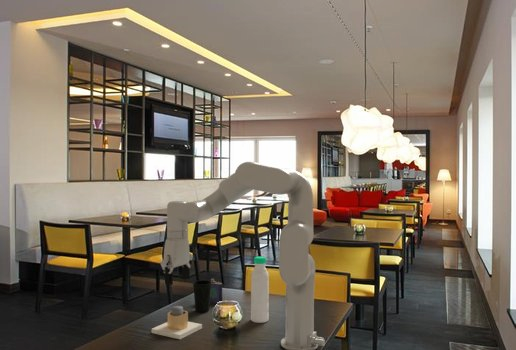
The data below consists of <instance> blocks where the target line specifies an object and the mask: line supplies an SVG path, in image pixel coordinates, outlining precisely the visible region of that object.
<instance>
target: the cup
mask: <svg viewBox="0 0 516 350" xmlns="http://www.w3.org/2000/svg"><path fill="white" fill-rule="evenodd" d="M192 287H193V298H194V309H195V312H196V313H198V314H204V313H207V312H209V310H210V304H211V303H210V293H211V280H207V279H206V280H205V279H204V280H201V279H200V280H195V281H193V282H192Z"/></svg>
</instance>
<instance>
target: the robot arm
mask: <svg viewBox="0 0 516 350" xmlns="http://www.w3.org/2000/svg"><path fill="white" fill-rule="evenodd" d="M252 191H259V192H264V193H268V194H272V195H280V196H282V195H287V197H288V204H287V224H286V225H285V226H283V228H282V229H281V231H280V234H279V241H278V242H279V243H278V245H279V247H278V254H279V256H278V271H279V276H280V278H281V280H282V281H283V282H284V283H285V284H286V285H285V329H284V330H285V337H283V338H282V339H280V346H281V347H282V348H284V349H285V350H316V349H318V347H319V346H322V347H325V344H326V340H325V337H322V336H318V335H317V331H314V328H315V323H314V321H315V320H314V319H315V309H314V308H315V307H314V306H315V281H316V262H315V260H314V258H313V256H312V255H311V254H310V253H309V252H310V251H309V248H310V244H312V242H313V240H314V236H315V235H314V194H313V188H312V186H311V183H310V182H309V180H308V179H307V177H306V176H304V175H303V174H302V173H300V172H299V171H297V170H295V169H292V168H277V167H273V166H267V165H263V164H261V163H259V162H257V161H256V162H255V161H246V162H242V163H240V164H239V165H238V166H237V168H236V170H235V172H234V173H232V174H230V175H229V176H227V177H226V178H224V179H222V180H221V181H220V182H219V185H218V188H217V189H216V190H215V191H214V192H212V193H210V194H209V195H208V196H206V197H205V198H203V199H201V200H194V201H189V202H188V201H182V200H181V201H180V200H173V201H169V202H168V203H167V205H166V225H167V226H166V229H167V230H166V234H167V235H166V240H165V243H164V249H163V259H162V261H161V262H160V266H161V270H162V271H163V274H164V284H165V285H169V286H172V285H174V284H173V283H174V273H173V271H174V269H175V268H177V267H181V278H182V279H183V280H190V276H191V275H190V272H191V270H190V269H191V264H192V262H193V258H194V255H193V254H192V253H190V243H189V241H190V240H189V236H188V235H189V233H188V230H189V229H188V228H189V223H191V224H192V223H199V222H202V221H206V220H209V219H211V218H213V217H214V216H216V215H217V214H219V213H221V212H223V210H226V208H228V207H230V206H231V205H232V204H233V203H234V202H236V201H238V200H239V199H240V198H242V197H244V196H245V195H246V194H248V193H251V192H252Z"/></svg>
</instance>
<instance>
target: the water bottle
mask: <svg viewBox="0 0 516 350" xmlns="http://www.w3.org/2000/svg"><path fill="white" fill-rule="evenodd" d="M266 263H267V258H266V256H254V258H253V264H254V267H253V270H252V272H251V275H250V278H251V280H250V281H251V282H250V284H251V285H250V298H251V302H250V310H251V311H250V320H251V321H252V322H253V323H256V324H257V323H258V324H264V323H267V322H268V321H269V317H270V315H269V314H270V313H269V310H270V309H269V308H270V306H269V305H270V304H269V297H270V293H269V292H270V283H269V279H270V278H269V277H270V275H269V274H270V273H269V272H268V271H267V268H266Z"/></svg>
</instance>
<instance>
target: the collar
mask: <svg viewBox="0 0 516 350" xmlns="http://www.w3.org/2000/svg"><path fill="white" fill-rule="evenodd" d="M166 316H167V321H166V322H167V328H169V329H171V330H181V329H185V328H187V327H188V322H189V312H188V311H187V310H184V309H183V315H171V310H170V311H169V312H167V315H166Z"/></svg>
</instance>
